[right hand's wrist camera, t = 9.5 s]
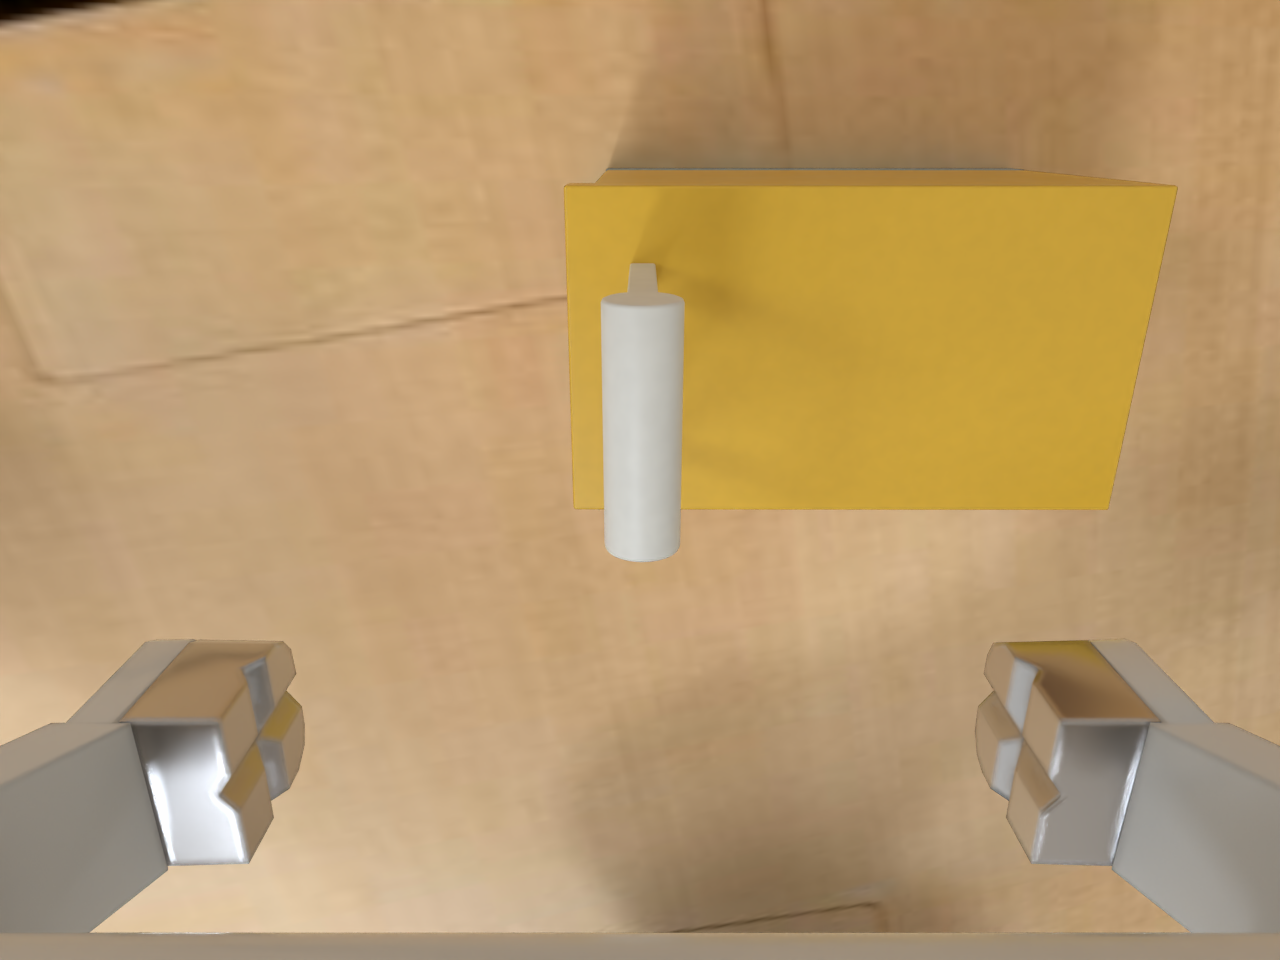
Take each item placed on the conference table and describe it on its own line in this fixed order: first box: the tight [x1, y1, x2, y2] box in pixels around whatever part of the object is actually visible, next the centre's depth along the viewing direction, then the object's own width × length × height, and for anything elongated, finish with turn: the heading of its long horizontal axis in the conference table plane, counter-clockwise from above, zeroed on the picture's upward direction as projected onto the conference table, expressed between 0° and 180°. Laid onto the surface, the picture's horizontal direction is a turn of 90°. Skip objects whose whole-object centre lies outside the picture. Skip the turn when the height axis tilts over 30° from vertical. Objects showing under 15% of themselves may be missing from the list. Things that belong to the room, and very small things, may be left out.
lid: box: [564, 183, 1178, 562], centre depth 22 cm, size 16×9×8 cm, turn 90°
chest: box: [596, 168, 1146, 183], centre depth 31 cm, size 16×10×10 cm, turn 90°
